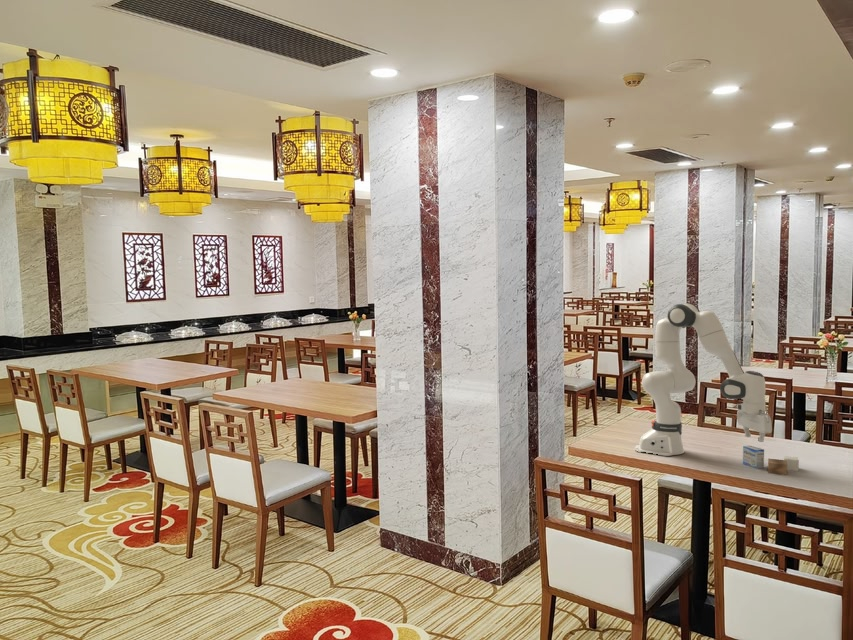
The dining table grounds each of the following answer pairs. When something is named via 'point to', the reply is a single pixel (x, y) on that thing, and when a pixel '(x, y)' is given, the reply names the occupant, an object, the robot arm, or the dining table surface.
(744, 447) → the medicine box
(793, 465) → the cream block
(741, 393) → the robot arm
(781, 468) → the walnut block
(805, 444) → the dining table surface
